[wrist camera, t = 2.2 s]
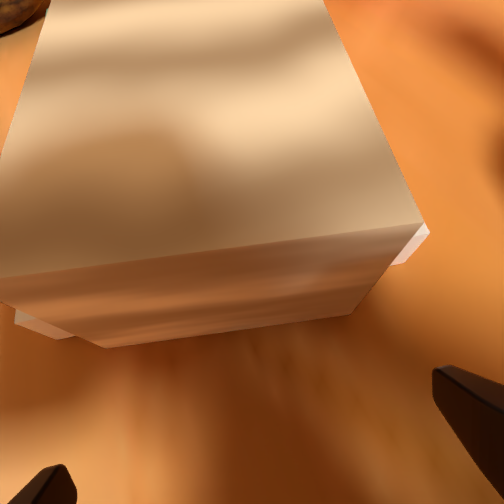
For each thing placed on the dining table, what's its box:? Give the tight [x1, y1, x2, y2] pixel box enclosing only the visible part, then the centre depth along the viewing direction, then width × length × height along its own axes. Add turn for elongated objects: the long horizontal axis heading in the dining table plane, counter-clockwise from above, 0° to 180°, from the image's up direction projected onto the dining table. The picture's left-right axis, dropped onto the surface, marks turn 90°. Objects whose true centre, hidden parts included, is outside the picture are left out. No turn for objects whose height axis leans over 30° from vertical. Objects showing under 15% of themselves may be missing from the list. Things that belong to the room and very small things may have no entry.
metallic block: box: [0, 0, 424, 349], centre depth 16 cm, size 16×12×8 cm
